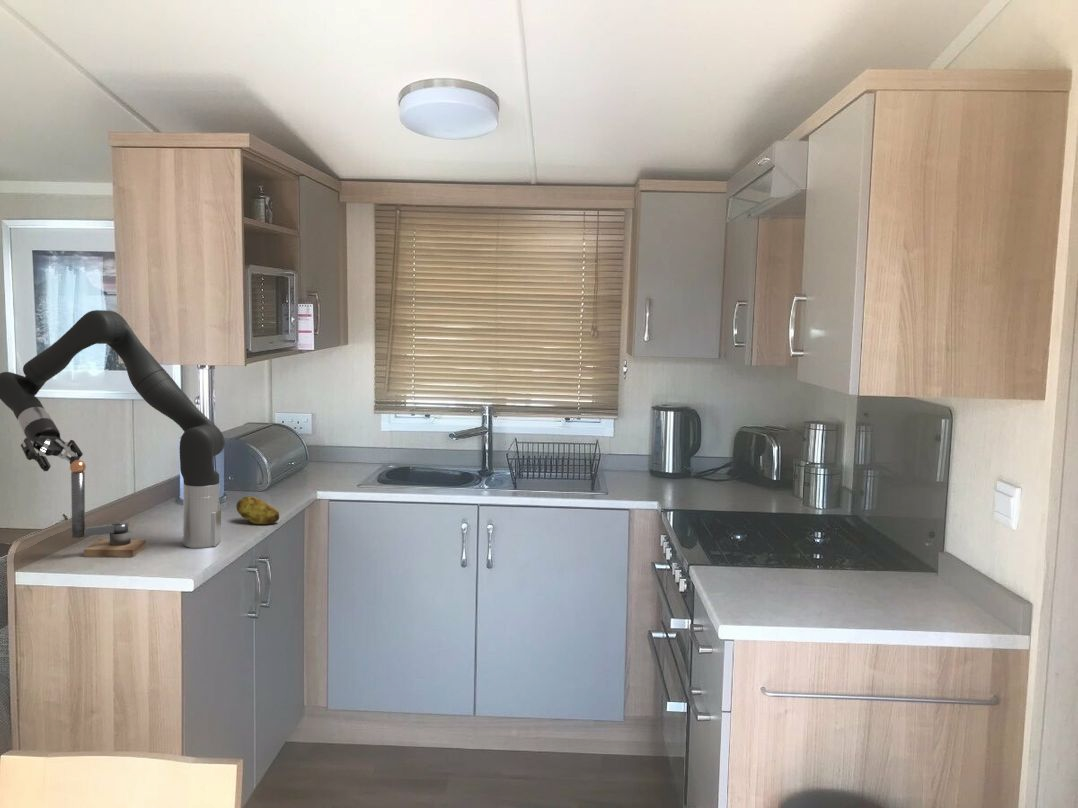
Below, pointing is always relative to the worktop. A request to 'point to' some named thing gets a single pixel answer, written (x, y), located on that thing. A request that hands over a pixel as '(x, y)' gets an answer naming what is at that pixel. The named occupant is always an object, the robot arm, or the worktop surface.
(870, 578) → the worktop surface
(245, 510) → the potato
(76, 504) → the lever
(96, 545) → the cracker base
